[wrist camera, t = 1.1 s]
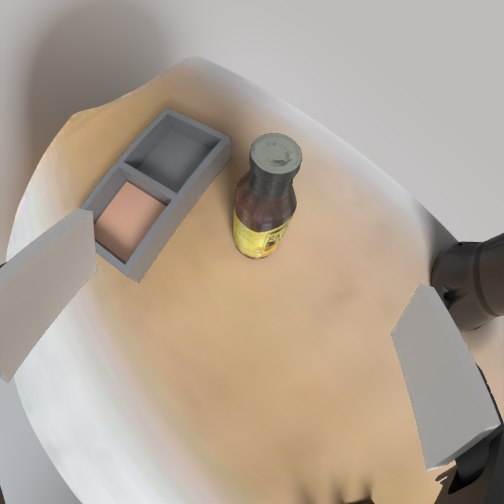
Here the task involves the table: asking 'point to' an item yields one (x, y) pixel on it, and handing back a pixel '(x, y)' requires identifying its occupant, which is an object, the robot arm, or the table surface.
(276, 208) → the sauce bottle
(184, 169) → the slot caddy
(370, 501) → the letter holder
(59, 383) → the table surface
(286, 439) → the table surface
